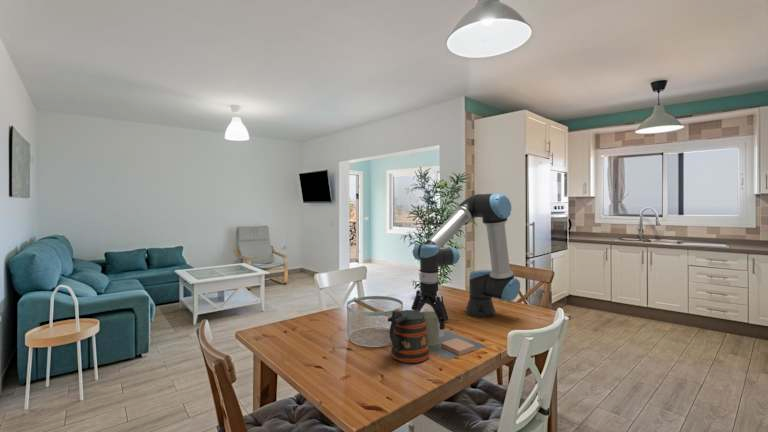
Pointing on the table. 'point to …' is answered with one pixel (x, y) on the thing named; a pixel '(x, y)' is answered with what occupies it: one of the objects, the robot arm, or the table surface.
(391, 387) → the table surface
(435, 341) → the can
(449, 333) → the board
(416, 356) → the beer stein
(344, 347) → the table surface
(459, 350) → the tile
